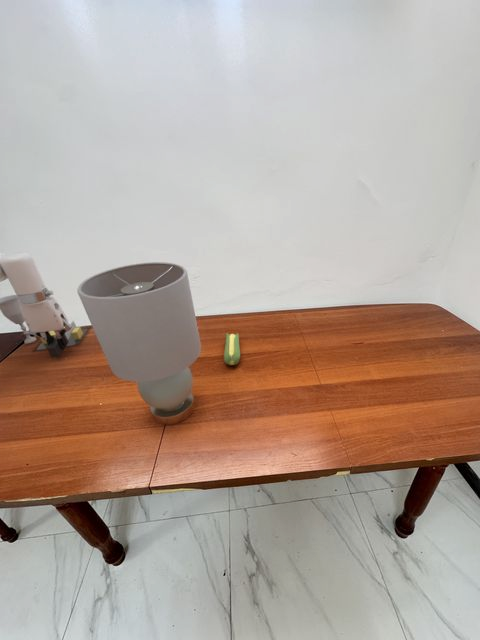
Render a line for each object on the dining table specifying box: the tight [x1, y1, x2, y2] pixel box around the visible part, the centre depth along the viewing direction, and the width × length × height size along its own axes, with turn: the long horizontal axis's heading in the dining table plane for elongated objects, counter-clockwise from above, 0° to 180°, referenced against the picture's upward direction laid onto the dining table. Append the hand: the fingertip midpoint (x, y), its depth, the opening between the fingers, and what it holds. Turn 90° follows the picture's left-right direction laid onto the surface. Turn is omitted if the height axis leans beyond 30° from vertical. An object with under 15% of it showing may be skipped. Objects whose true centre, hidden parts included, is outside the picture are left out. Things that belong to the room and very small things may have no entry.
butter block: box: [39, 331, 56, 344], centre depth 107 cm, size 6×4×3 cm, turn 100°
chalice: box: [0, 294, 37, 344], centre depth 105 cm, size 7×7×18 cm
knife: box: [46, 320, 77, 358], centre depth 102 cm, size 2×20×4 cm, turn 10°
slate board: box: [35, 328, 89, 351], centre depth 109 cm, size 14×12×2 cm
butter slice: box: [71, 326, 83, 340], centre depth 108 cm, size 2×4×3 cm, turn 11°
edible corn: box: [223, 331, 241, 366], centre depth 96 cm, size 5×20×5 cm, turn 4°
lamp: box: [76, 261, 202, 426], centre depth 67 cm, size 20×20×35 cm
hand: (59, 347), depth 98 cm, fingers closed on knife, 2 cm apart
